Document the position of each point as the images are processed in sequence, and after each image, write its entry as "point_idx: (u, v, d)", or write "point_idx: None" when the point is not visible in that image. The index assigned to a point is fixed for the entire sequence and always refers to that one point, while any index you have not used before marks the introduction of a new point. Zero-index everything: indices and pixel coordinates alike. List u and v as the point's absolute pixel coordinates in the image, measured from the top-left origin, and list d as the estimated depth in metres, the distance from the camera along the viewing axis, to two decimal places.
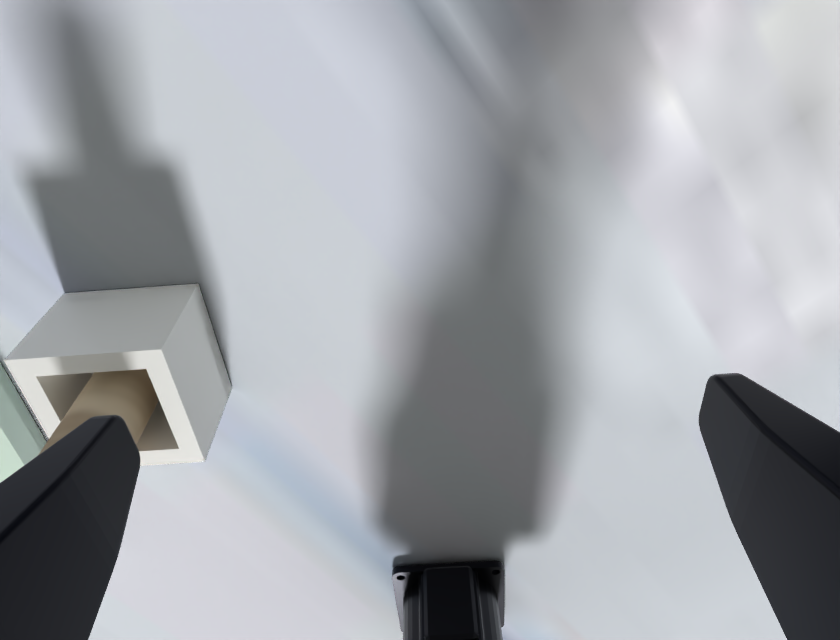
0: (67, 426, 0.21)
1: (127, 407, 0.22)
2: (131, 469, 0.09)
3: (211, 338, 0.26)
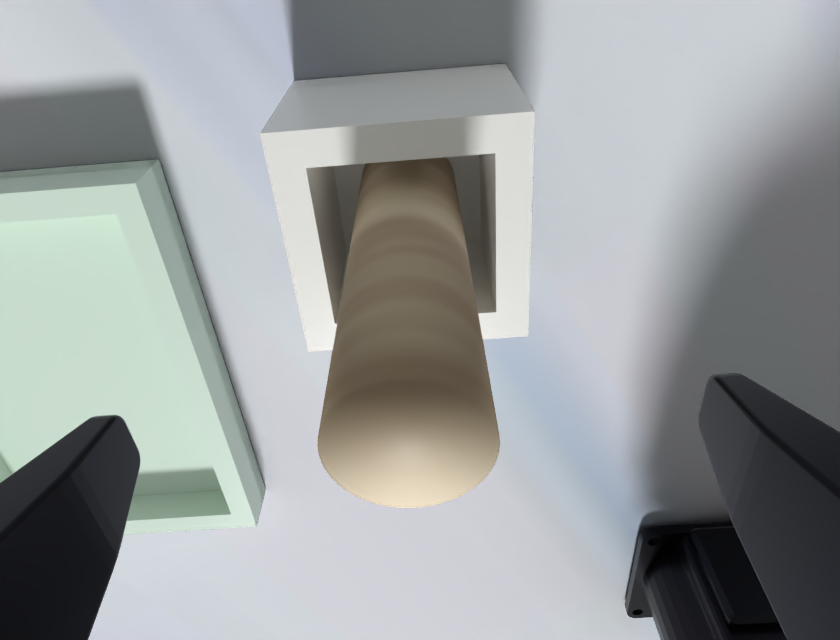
0: (391, 232, 0.12)
1: (455, 223, 0.13)
2: (131, 469, 0.09)
3: None
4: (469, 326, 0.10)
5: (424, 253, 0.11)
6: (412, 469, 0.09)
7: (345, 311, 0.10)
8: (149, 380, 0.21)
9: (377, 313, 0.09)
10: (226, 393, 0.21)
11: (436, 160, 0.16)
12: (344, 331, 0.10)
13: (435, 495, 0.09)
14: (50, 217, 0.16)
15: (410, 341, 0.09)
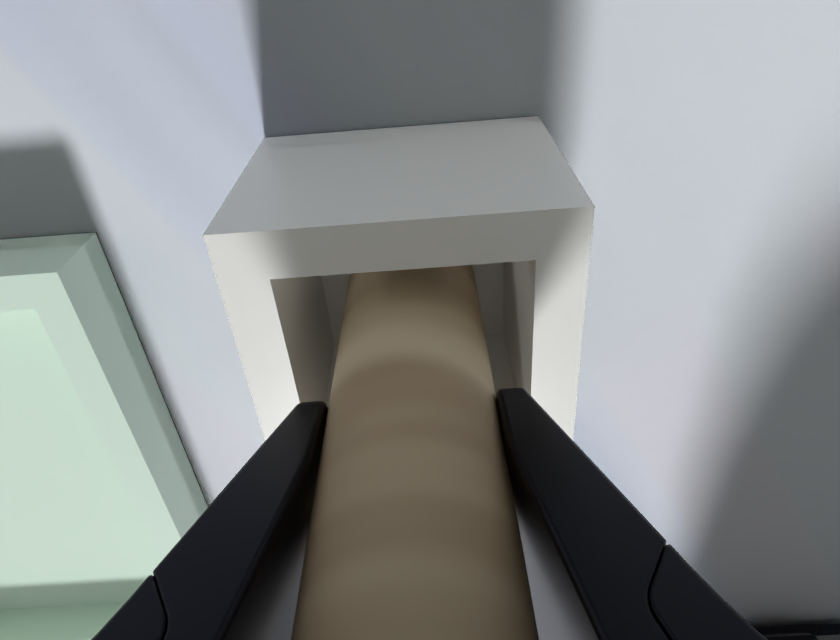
0: (390, 392, 0.08)
1: (479, 354, 0.09)
2: None
3: None
4: (512, 591, 0.06)
5: (438, 436, 0.07)
6: None
7: (316, 544, 0.07)
8: (97, 484, 0.17)
9: (365, 584, 0.06)
10: (191, 498, 0.18)
11: None
12: (311, 598, 0.06)
13: None
14: None
15: None
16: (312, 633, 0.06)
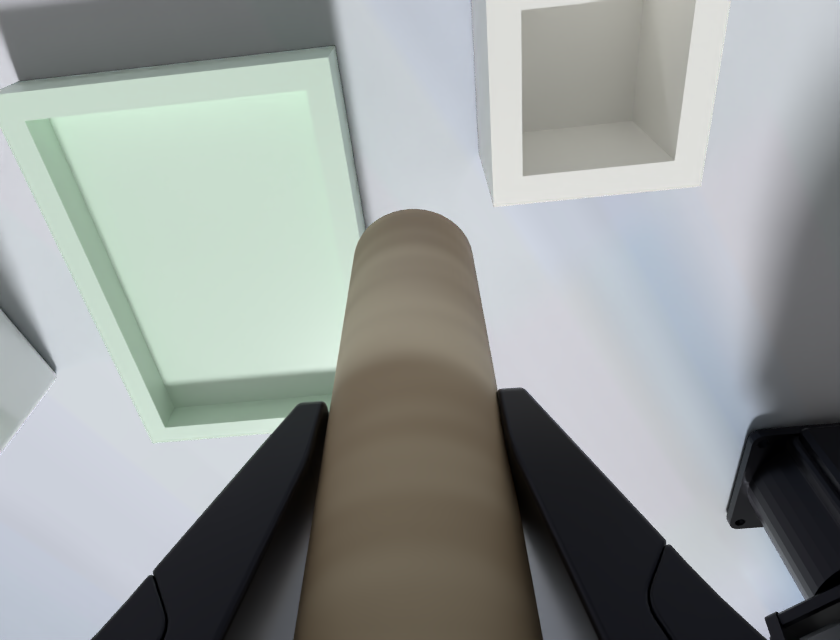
0: (392, 389, 0.08)
1: (481, 351, 0.09)
2: None
3: None
4: (516, 588, 0.06)
5: (441, 433, 0.07)
6: None
7: (319, 541, 0.07)
8: (302, 274, 0.22)
9: (368, 581, 0.06)
10: None
11: (451, 243, 0.12)
12: (314, 594, 0.06)
13: None
14: (245, 94, 0.18)
15: None
16: (315, 630, 0.06)
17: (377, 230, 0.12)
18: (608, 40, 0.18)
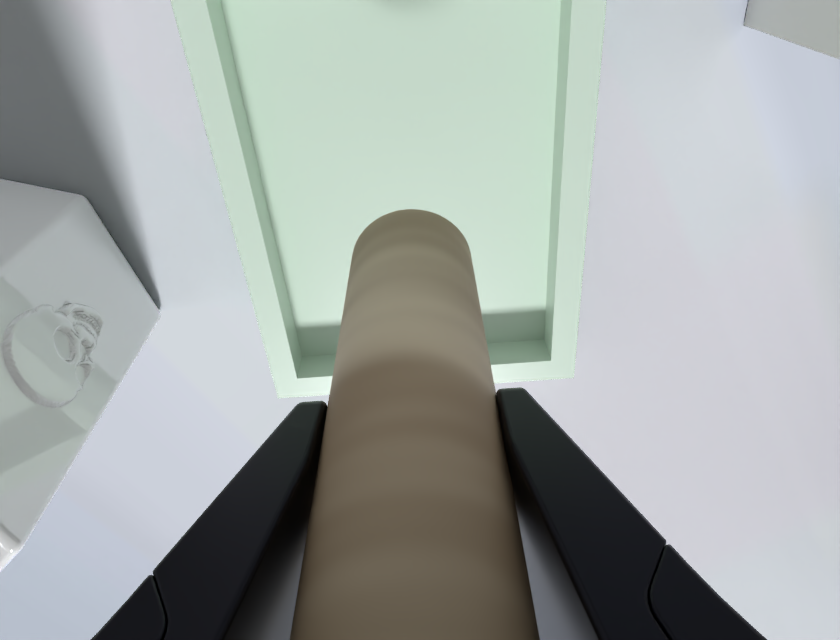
0: (389, 390, 0.08)
1: (479, 351, 0.09)
2: None
3: None
4: (514, 589, 0.06)
5: (438, 433, 0.07)
6: None
7: (315, 542, 0.07)
8: (494, 183, 0.18)
9: (365, 583, 0.06)
10: None
11: (449, 243, 0.12)
12: (310, 596, 0.06)
13: None
14: None
15: None
16: (311, 632, 0.06)
17: (375, 230, 0.12)
18: None
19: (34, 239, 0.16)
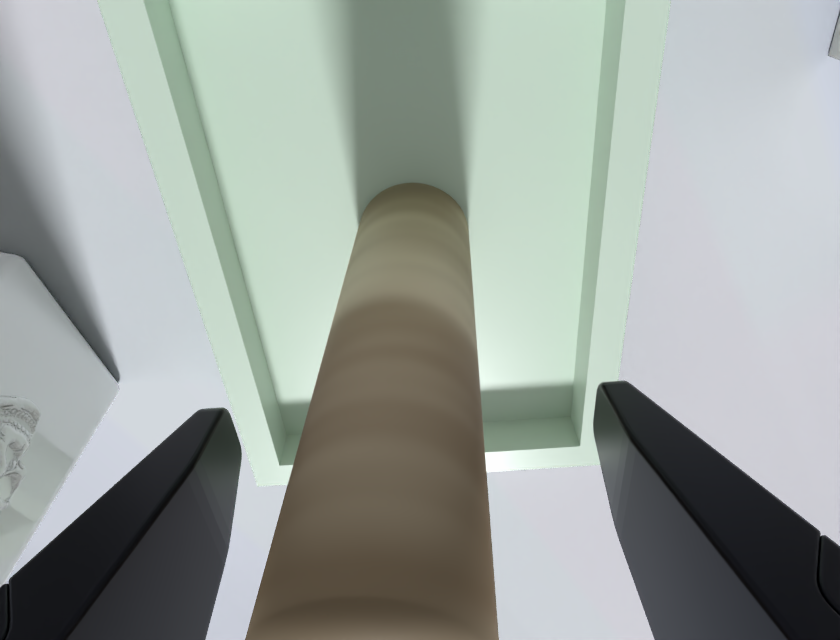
0: (376, 324, 0.09)
1: (462, 302, 0.11)
2: (235, 462, 0.09)
3: None
4: (466, 476, 0.07)
5: (414, 357, 0.08)
6: None
7: (305, 440, 0.08)
8: (515, 244, 0.15)
9: (340, 461, 0.07)
10: None
11: (445, 212, 0.13)
12: (297, 477, 0.07)
13: None
14: None
15: (377, 519, 0.06)
16: (295, 499, 0.07)
17: (379, 200, 0.13)
18: None
19: None
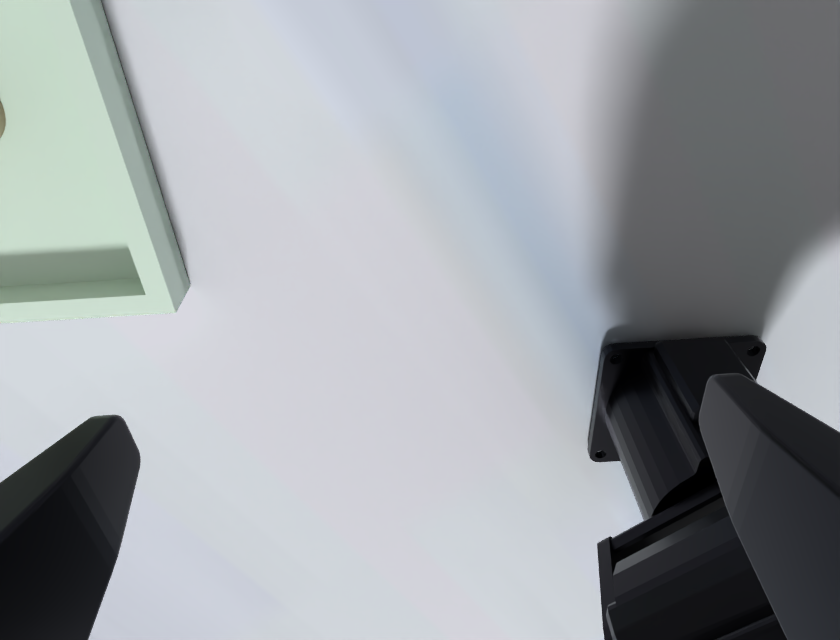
0: None
1: None
2: (131, 469, 0.09)
3: None
4: None
5: None
6: None
7: None
8: (45, 116, 0.19)
9: None
10: (134, 137, 0.19)
11: None
12: None
13: None
14: None
15: None
16: None
17: None
18: None
19: None
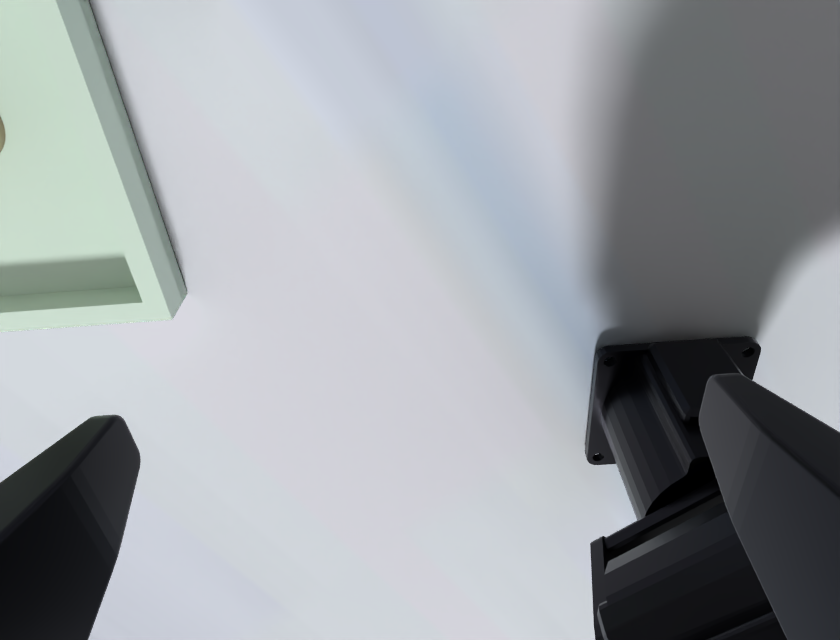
0: None
1: None
2: (131, 469, 0.09)
3: None
4: None
5: None
6: None
7: None
8: (43, 130, 0.19)
9: None
10: (129, 149, 0.20)
11: None
12: None
13: None
14: None
15: None
16: None
17: None
18: None
19: None
